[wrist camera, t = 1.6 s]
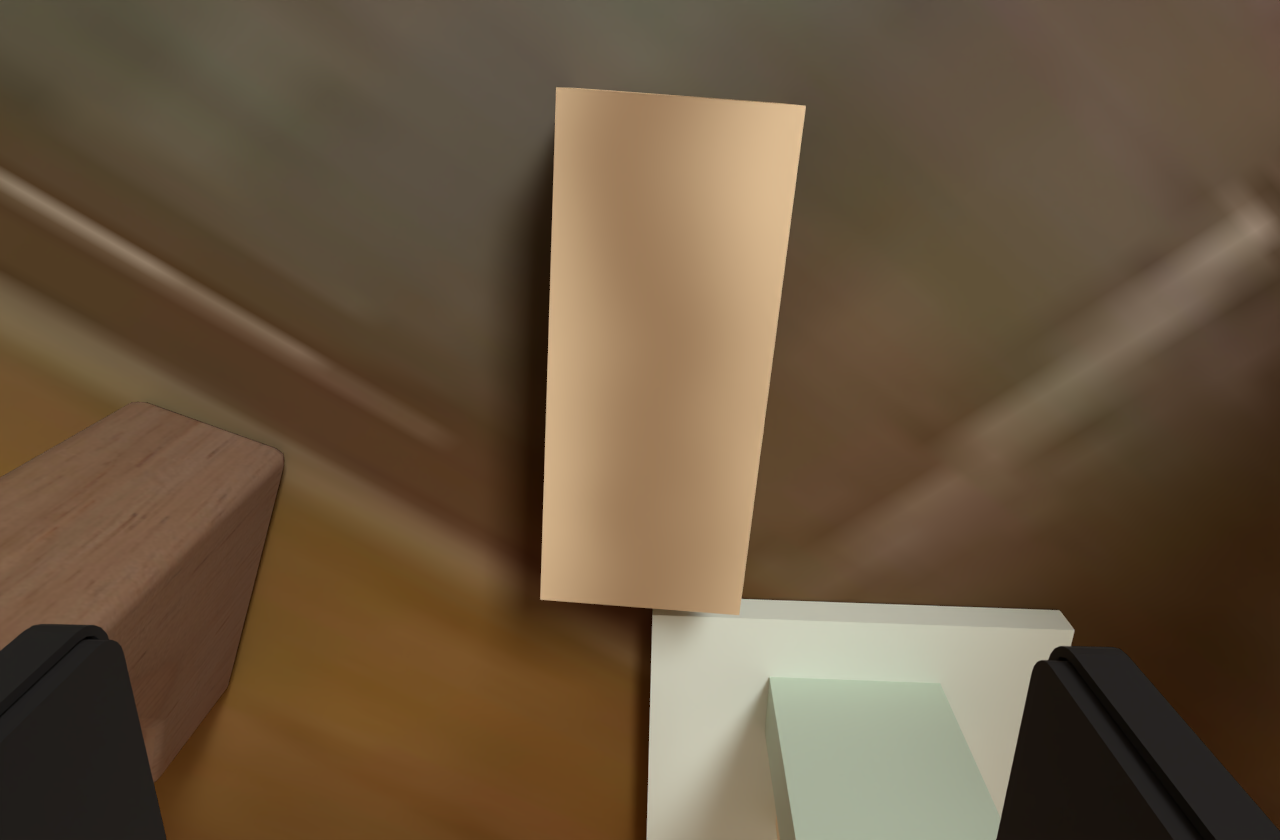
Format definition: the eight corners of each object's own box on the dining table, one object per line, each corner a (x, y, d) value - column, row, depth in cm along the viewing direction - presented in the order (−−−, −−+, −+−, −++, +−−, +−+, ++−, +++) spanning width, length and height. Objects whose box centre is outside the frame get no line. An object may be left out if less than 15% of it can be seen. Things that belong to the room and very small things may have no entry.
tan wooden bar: (781, 103, 21) (805, 105, 17) (729, 537, 25) (739, 615, 21) (576, 88, 21) (555, 87, 17) (559, 524, 25) (540, 599, 21)
